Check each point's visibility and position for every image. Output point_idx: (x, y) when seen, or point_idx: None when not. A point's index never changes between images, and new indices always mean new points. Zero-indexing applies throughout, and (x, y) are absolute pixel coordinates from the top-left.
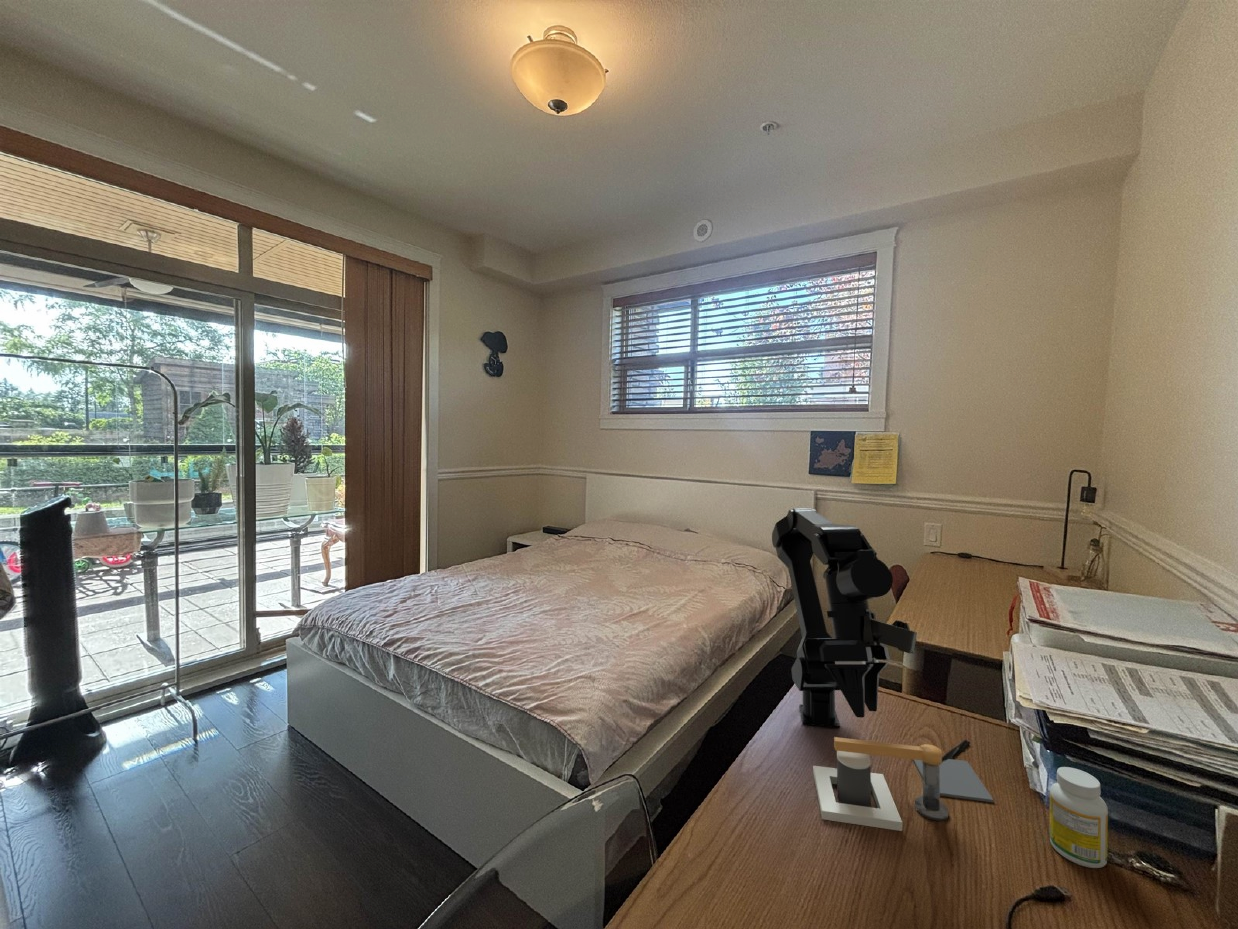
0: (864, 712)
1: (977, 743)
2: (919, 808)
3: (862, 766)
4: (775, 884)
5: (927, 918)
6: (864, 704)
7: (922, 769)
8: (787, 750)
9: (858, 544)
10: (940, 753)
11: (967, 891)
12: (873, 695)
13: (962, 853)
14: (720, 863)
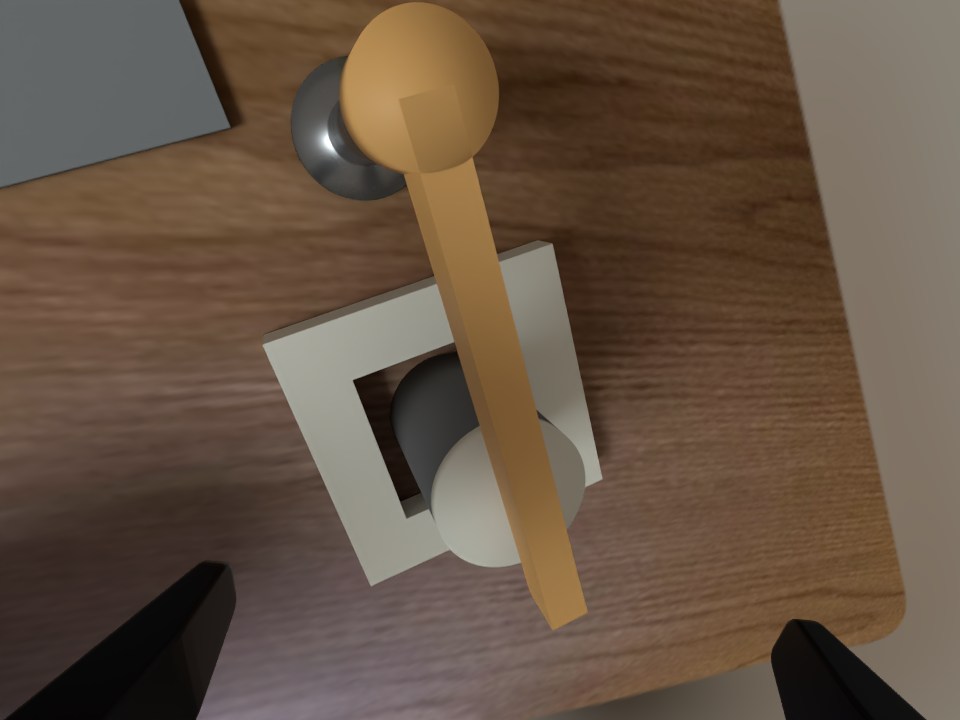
0: (821, 646)
1: None
2: (404, 181)
3: (572, 442)
4: (809, 480)
5: (812, 169)
6: (874, 710)
7: (16, 159)
8: (266, 689)
9: None
10: (452, 17)
11: (708, 49)
12: (147, 707)
13: (558, 36)
14: (790, 584)
